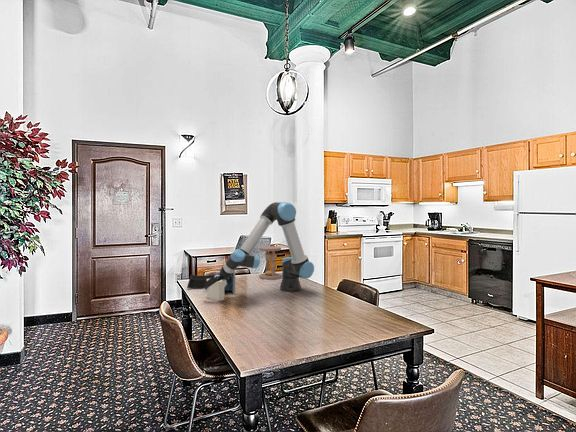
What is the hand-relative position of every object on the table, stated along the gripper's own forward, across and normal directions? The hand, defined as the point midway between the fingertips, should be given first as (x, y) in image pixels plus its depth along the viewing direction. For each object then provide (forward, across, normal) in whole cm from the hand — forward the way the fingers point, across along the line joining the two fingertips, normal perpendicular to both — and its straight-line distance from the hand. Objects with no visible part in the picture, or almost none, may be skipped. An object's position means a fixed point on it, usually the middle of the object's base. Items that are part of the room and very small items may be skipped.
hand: (213, 289), depth 234 cm
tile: (+3, 0, -5) cm, 6 cm away
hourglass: (+18, +72, +10) cm, 75 cm away
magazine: (+23, +16, +14) cm, 31 cm away
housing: (+8, +16, 0) cm, 18 cm away
